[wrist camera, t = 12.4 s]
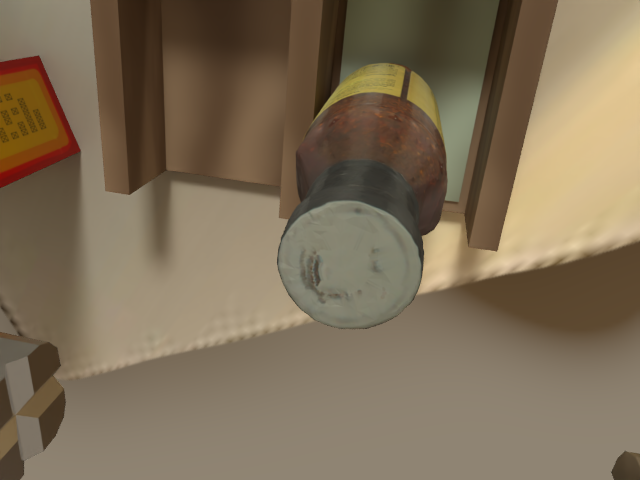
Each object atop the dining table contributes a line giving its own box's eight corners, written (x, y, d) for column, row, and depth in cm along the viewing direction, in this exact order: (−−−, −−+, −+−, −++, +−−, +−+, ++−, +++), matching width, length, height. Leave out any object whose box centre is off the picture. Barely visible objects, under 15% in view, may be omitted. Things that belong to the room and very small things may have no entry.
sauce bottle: (315, 135, 34) (184, 295, 16) (362, 38, 32) (265, 103, 14) (410, 185, 34) (381, 397, 17) (465, 93, 32) (501, 228, 14)
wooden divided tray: (150, 163, 38) (105, 191, 33) (139, -91, 32) (81, -106, 27) (488, 212, 35) (496, 251, 30) (549, -58, 29) (574, -68, 24)
